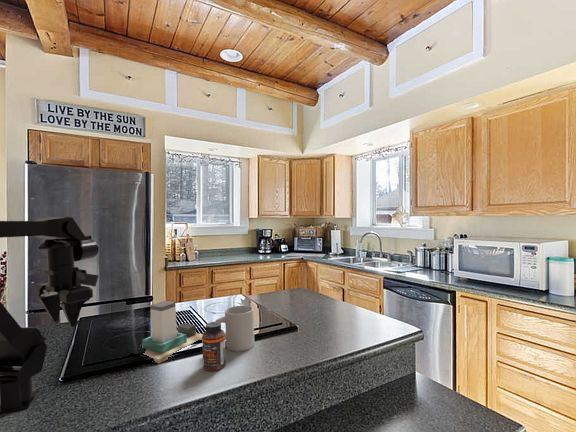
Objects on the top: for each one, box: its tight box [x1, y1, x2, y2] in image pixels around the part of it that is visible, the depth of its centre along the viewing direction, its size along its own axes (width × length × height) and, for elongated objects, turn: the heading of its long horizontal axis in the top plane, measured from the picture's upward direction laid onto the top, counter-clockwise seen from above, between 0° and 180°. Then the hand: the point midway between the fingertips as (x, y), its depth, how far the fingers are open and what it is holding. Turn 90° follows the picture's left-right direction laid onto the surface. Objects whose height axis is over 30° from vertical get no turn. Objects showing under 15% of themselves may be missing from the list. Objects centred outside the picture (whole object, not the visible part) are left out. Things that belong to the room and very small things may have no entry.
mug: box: [214, 305, 256, 352], centre depth 96 cm, size 12×8×11 cm
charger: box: [149, 300, 178, 344], centre depth 97 cm, size 5×5×12 cm
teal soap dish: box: [141, 322, 203, 364], centre depth 98 cm, size 18×13×4 cm
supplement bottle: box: [201, 321, 227, 372], centre depth 85 cm, size 6×6×11 cm
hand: (64, 323), depth 84 cm, fingers open, 9 cm apart
